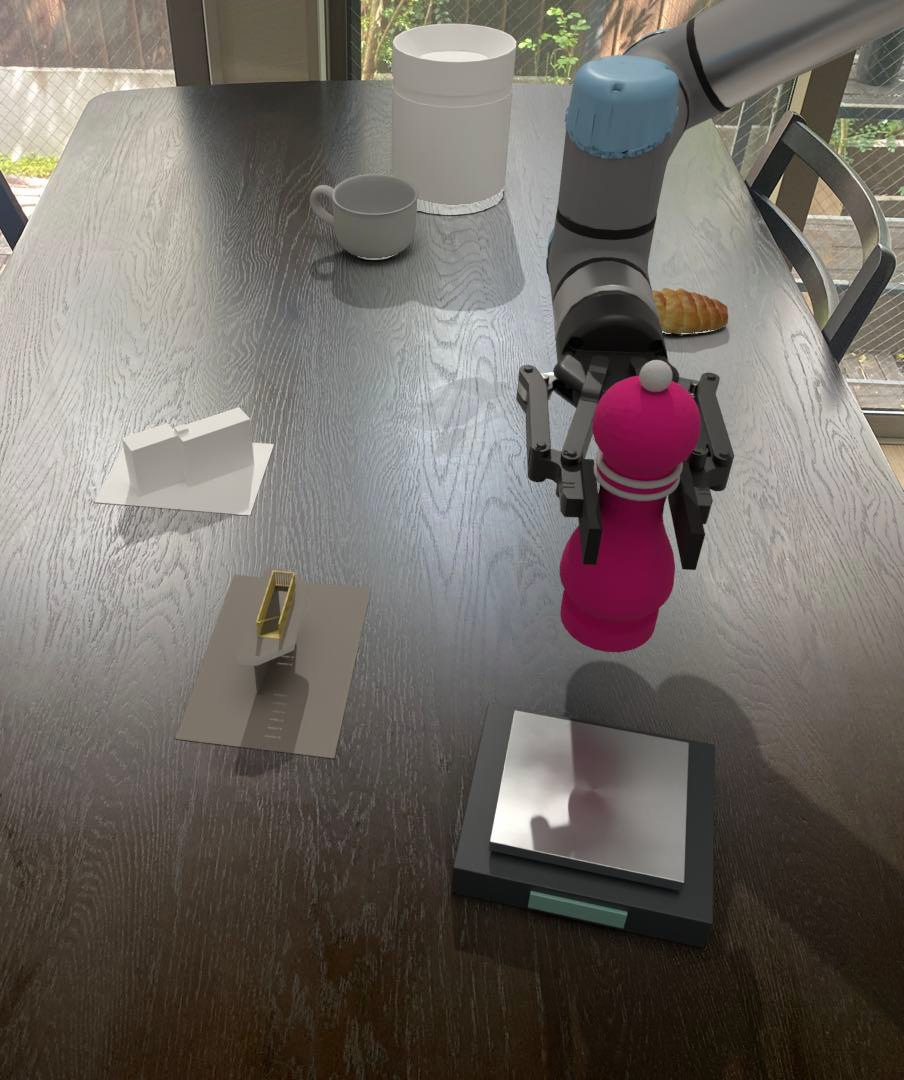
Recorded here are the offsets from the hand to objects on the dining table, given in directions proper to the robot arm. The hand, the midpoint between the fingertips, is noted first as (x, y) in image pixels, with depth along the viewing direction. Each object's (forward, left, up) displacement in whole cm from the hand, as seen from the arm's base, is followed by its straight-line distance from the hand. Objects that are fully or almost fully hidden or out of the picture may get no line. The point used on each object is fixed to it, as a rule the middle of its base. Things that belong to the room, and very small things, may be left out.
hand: (642, 549), depth 61 cm
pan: (0, +3, -20) cm, 20 cm away
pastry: (-4, -68, -23) cm, 72 cm away
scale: (0, +3, -23) cm, 23 cm away
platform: (+25, -7, -23) cm, 35 cm away
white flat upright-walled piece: (+41, -28, -23) cm, 55 cm away
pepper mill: (+1, -5, -11) cm, 12 cm away
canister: (+29, -98, -23) cm, 104 cm away
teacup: (+36, -78, -23) cm, 89 cm away
